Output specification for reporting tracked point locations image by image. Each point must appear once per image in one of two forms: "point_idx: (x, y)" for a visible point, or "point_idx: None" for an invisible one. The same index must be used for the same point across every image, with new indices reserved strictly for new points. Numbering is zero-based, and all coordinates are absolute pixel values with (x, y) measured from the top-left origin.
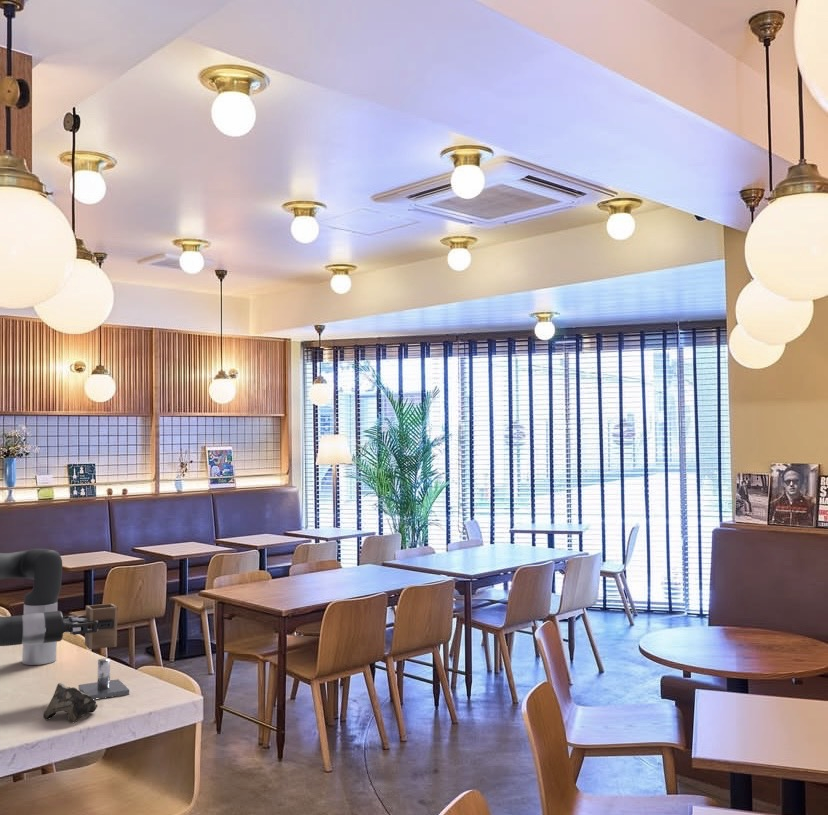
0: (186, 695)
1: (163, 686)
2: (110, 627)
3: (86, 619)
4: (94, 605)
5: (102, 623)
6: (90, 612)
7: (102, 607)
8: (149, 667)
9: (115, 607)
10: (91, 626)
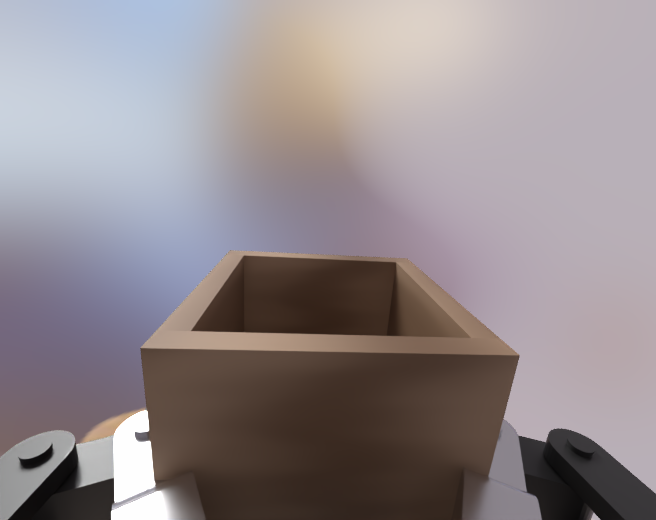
0: None
1: None
2: None
3: (538, 507)
4: (214, 301)
5: None
6: (506, 390)
7: (230, 296)
8: (92, 432)
9: (410, 263)
10: None
